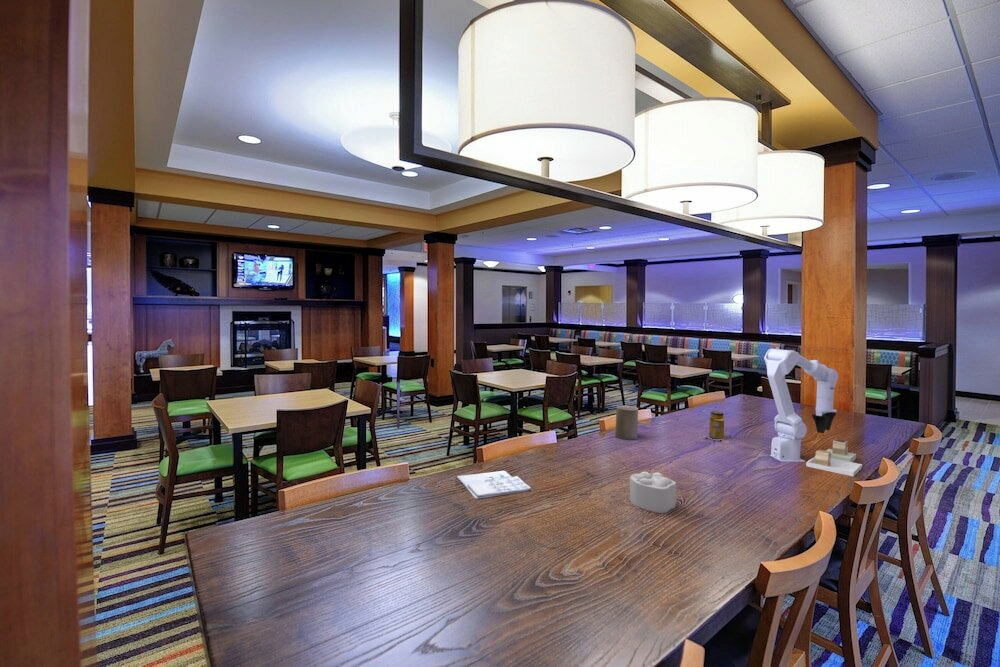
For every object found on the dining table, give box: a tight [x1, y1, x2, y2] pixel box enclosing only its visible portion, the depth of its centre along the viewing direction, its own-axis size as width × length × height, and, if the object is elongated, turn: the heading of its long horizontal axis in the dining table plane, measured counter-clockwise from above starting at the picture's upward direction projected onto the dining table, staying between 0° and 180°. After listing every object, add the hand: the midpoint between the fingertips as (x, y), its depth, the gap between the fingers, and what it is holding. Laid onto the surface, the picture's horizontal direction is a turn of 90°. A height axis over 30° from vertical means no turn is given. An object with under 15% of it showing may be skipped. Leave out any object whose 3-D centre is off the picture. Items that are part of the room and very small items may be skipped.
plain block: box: [814, 449, 831, 467], centre depth 178 cm, size 4×4×5 cm
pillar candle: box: [615, 405, 639, 441], centre depth 217 cm, size 10×10×15 cm
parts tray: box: [805, 456, 863, 478], centre depth 176 cm, size 14×13×2 cm
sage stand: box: [825, 448, 857, 463], centre depth 186 cm, size 9×9×2 cm
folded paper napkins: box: [456, 470, 532, 500], centre depth 158 cm, size 19×20×2 cm
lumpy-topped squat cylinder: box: [629, 471, 677, 514], centre depth 143 cm, size 10×13×9 cm
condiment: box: [704, 410, 725, 439], centre depth 216 cm, size 7×8×12 cm
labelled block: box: [832, 438, 849, 456], centre depth 186 cm, size 4×4×5 cm
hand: (823, 431), depth 191 cm, fingers open, 7 cm apart
